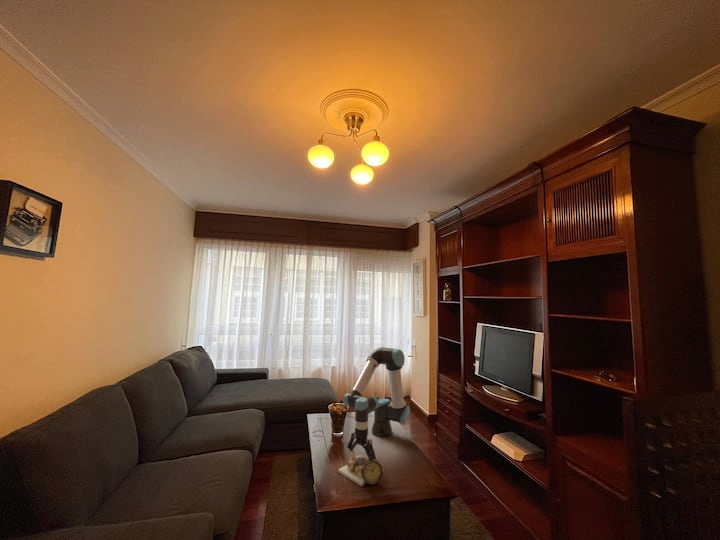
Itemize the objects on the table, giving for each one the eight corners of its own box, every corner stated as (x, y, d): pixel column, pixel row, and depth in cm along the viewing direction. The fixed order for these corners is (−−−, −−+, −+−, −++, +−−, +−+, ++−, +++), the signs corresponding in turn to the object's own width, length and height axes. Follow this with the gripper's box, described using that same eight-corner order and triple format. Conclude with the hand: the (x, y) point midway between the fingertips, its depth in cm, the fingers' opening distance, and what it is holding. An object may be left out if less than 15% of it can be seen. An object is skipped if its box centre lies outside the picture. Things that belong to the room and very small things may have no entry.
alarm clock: (362, 488, 148) (363, 454, 150) (360, 481, 154) (360, 449, 155) (382, 485, 151) (383, 452, 153) (379, 479, 156) (380, 447, 158)
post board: (360, 459, 175) (360, 446, 176) (383, 472, 163) (383, 457, 164) (338, 472, 162) (338, 458, 163) (361, 486, 150) (361, 471, 151)
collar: (361, 477, 155) (361, 469, 155) (347, 469, 162) (347, 461, 163) (374, 469, 163) (374, 461, 163) (360, 461, 170) (360, 454, 171)
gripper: (341, 423, 171) (341, 461, 169) (373, 436, 154) (373, 479, 152) (350, 419, 176) (350, 456, 174) (382, 432, 159) (382, 473, 157)
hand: (360, 467), depth 163 cm, fingers open, 13 cm apart
